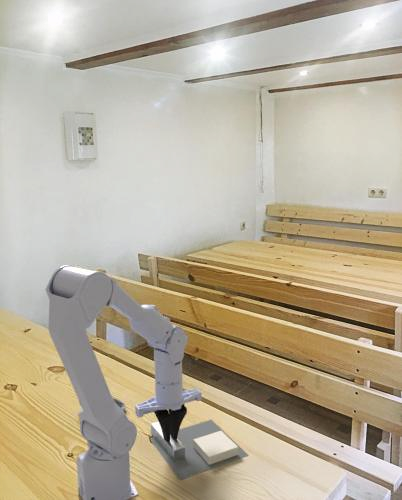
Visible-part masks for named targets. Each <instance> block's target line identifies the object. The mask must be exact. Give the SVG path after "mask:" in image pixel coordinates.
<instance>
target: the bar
mask: <svg viewBox="0 0 402 500" xmlns="http://www.w3.org/2000/svg"><path fill="white" fill-rule="evenodd" d="M150 434H151V435H152V438H153V437H154V438H155V439H156V440H157V441H158V443H159V444H160V445H161V446H162V447H163V449H164V450H165V451H166V452H167V453H168V454H169V456H170V457H171V458H172V459H173V460H174V462H176V461H179V460H181V459H184V458H185V446H184V445H183V444H182V443H181V442H180V441H179V440H178V439H175V440H174V439H173V438H172V436H171V435H170V437H171V438H170V441H169V442H167V441H166V440H165V439H164V437H163V432H162V429H161V426H160V423H159V421H158V420H157V421H155V422H151V423H150Z"/></svg>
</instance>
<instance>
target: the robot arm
mask: <svg viewBox="0 0 402 500" xmlns="http://www.w3.org/2000/svg"><path fill="white" fill-rule="evenodd" d="M45 292H46V294H47V297H48V300H49V301H48V302H49V304H48V305H49V307H48V334H49V335H50V338H51V340H52V343H53V345H54V347H55V350H56V352H57V354H58V356H59V358H60V360H61V363H62V364H63V365H62V366H63V368H64V370H65V372H66V374H67V376H68V379H69V381H70V384H71V385H72V389H73V390H74V392H75V394H76V396H77V399H78V403H79V402H80V403H79V405H80V404H81V405H80V407H81V406H82V407H81V408H80V410H79V412H78V413H77V415H78V418H79V422H80V423H79V424H80V426H79V432H80V434H81V436H82V438H84V439H85V440H87V444H86V445H87V447H88V449H87V450H86V451H85V452H82V453H81V454H79V455H77V456H76V468H77V471H76V472H77V485H78V486H77V490H78V492H79V496H80V497H81V499H82V500H129V499H133V498H135V497H137V496H138V495H139V492H138V490H137V489H136V487H135V485H134V484H133V482H132V480H131V470H130V469H131V467H130V465H131V464H130V451H132V448H133V447H134V445H135V442H136V440H137V437H138V436H137V434H138V429H137V426H136V424H135V423H134V422H133V421H131V420H129V418H128V416H127V414H126V413H125V411H123V410H122V409H121V408H120V407H119V406H118V405H117V404H116V403H115V402H114V401H113V398H114V397H113V398H112V396H113V395H112V393H111V391H110V389H109V386H108V384H107V381H106V379H105V375H104V373H103V371H102V369H101V366H100V363H99V361H98V359H97V356H96V354H95V351H94V349H93V346H92V344H91V341H90V339H89V336H88V333H87V329H88V328H90V327H91V326H92V325H93V323H94V322H95V321H96V319H97V318H98V316H99V315H100V314H101V312H102V311H103V310H104V308H105V307H106V306H107V307H110V308H111V309H113V310H115V311H116V312H117V313H119V314H120V315H122V316H124V317H125V318H127V319H128V320H129V321H128V323H129V327H130V329H131V330H132V331H134V332H135V333H136V334H137V335H139V336H141V337H142V338H143V339H145V340H146V342H147V344H148V346H149V347H151V348H153V359H154V364H153V365H154V385H155V386H154V391H155V392H154V393H155V395H154V396H153V397H151V398H149V399H147V400H145V401H143V402H140V403H138V404H135V405H134V406H135V407H134V408H135V409H134V410H135V414H136V416H137V417H138V418H139V419H140V418H143V417H144V415H148V414H150V413H151V414H152V413H154V415H155V416H156V419H157V422H158V421H159V423H160V426H161V429H162V432H163V437H164V439H165V440H166V441H167V442H169V441H170V438H171V437H170V435H171V436H172V438H173V439H174V440H175V439H177V436H178V432H179V429H181V425H182V423H183V420H184V418H185V417H186V416H187V413H188V409H187V407H186V406H185V404H187V403H191V402H195V401H197V402H200V401H202V398H203V397H202V391H201V390H199V389H198V388H195V389H186V390H183V359H184V357H185V348H186V347H187V344H188V341H189V340H188V338H189V336H187V334H186V332H185V330H184V329H183V328H182V327H181V326H179V325H176V324H175V325H174V324H172V323H173V322H171V319H170V317H167V316H164V315H163V314H161V313H160V312H159V307H158V306H157V305H154V304H140V303H139V302H137V300H136V299H135V298H133V297H132V296H131V295H130V294H129V293H128V292H127V291H125V289H124V288H122V286H120V285H119V284H118V282H117V280H116V279H114V278H111V277H110V276H109V275H107V273H105V272H103V271H98V270H97V271H95V270H90V269H85V268H81V267H80V268H79V267H76V266H74V265H71V264H66V265H65V264H64V265H62V266H59V267H58V268H57V269H55V271H54V272H53V273H52V275H51V277H50V280H49V281H48V283H47V285H46V288H45ZM111 395H112V396H111Z"/></svg>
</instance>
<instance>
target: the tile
mask: <svg viewBox="0 0 402 500" xmlns="http://www.w3.org/2000/svg"><path fill="white" fill-rule="evenodd" d="M233 441H234V440H233ZM233 441H231V440H230V439H229V438H228V437H227V436H226V435H225V434H224V433H223V432H222V431H218V432H215V433H212V434H209V435H206V436H203V437H199V438H196V439H193V447H194V448H195V450H196V451H197V452H198V453H199V454H200V455H201V456H202V458H203V459H204V460H205V461H206V462H207V463H208V464H209V465H211V464H213V463H216V462H219V461H222V460H225V459H227V458H230V457H233V456H236V455H238V446H237V445H238V444H237V443H236V442H235V441H234V442H235V443H236V444H237V445H236V444H235V443H234V442H233Z"/></svg>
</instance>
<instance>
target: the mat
mask: <svg viewBox="0 0 402 500" xmlns="http://www.w3.org/2000/svg"><path fill="white" fill-rule="evenodd" d="M218 431H222V432H223V433H224V434H225V435H226V436H227V437H228V438H229V439H230V440H231V441H233V442H234V443H235V444H236V445H237V446H238V455H236V456H233V457H230V458H227V459H225V460H222V461H219V462H216V463H213V464H211V465H209V464H208V463H207V462H206V461H205V460H204V459H203V458H202V456H201V455H200V454H199V453H198V452H197V451H196V450H195V448H194V447H193V439H196V438H199V437H203V436H206V435H209V434H212V433H215V432H218ZM177 439H178V440H179V441H180V442H181V443H182V444H183V445H184V446H185V458H184V459H181V460H179V461H176V462H174V460H173V459H172V458H171V457H170V456H169V454H168V453H167V452H166V451H165V450H164V449H163V447H162V446H161V445H160V444H159V443H158V441H157V440H156V439H155V438H154V437H153V436H152V437H150V438H149V439H148V440H150V442H151V443H152V444H153V446H154V447H155V448H156V450H157V451H158V452H159V454H160V455H161V457H162V458H163V459H164V461H165V462H166V463H167V464H168V466H169V467H170V469H171V470H172V471H173V473H174V474H175V475H176V477H177V478H178V480H180V481H181V480H184V479H188V478H190V477H193V476H195V475H198V474H202V473H204V472H207V471H209V470H213V469H215V468H217V467H221V466H223V465H226V464H229V463H231V462H234V461H237V460H240V459H243V458H245V457H248V456H249V454H248V453H247V452H246V451H245V450H244V449H243V448H242V447H241V446H240V445H239V444H237V442H236V441H234V439H233V438H231V437H230V436H229V435H228V434H227V433H226V432H225V431H224V429H222V428H221V427H220V426H219V425H218V424H217V423H216V422H214V420H212V419H209V420H206V421H202V422H199V423H195V424H192V425H189V426H186V427H183V428H179V432H178V436H177Z"/></svg>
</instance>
